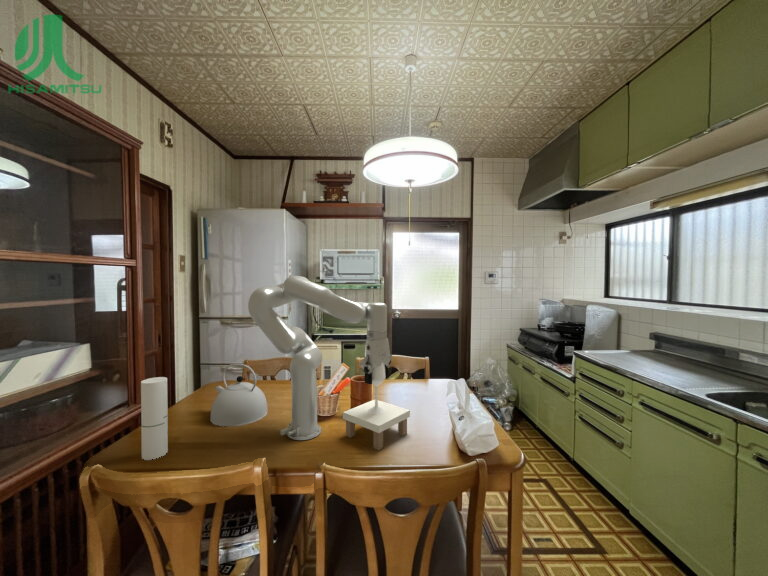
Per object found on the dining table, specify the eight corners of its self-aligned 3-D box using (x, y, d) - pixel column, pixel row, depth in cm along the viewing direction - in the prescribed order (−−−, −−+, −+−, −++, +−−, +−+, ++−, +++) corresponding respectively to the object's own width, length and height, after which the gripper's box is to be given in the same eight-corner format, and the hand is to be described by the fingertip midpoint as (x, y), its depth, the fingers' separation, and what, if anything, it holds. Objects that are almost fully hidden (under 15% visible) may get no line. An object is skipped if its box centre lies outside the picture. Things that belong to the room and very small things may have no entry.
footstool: (378, 452, 110) (378, 425, 109) (343, 435, 121) (343, 412, 121) (409, 433, 123) (409, 410, 123) (375, 420, 135) (375, 399, 135)
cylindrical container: (172, 448, 112) (172, 376, 111) (158, 460, 104) (158, 383, 104) (151, 449, 111) (150, 377, 111) (136, 460, 104) (135, 383, 104)
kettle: (193, 421, 134) (193, 367, 134) (234, 402, 156) (234, 355, 155) (241, 430, 126) (241, 373, 126) (278, 409, 147) (278, 360, 147)
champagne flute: (375, 406, 127) (376, 345, 127) (388, 410, 123) (389, 347, 122) (363, 411, 122) (364, 348, 121) (377, 416, 117) (378, 350, 117)
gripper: (368, 339, 113) (368, 388, 113) (398, 333, 126) (398, 377, 126) (353, 337, 118) (353, 384, 118) (384, 331, 131) (384, 373, 131)
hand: (376, 380), depth 122 cm, fingers open, 9 cm apart
